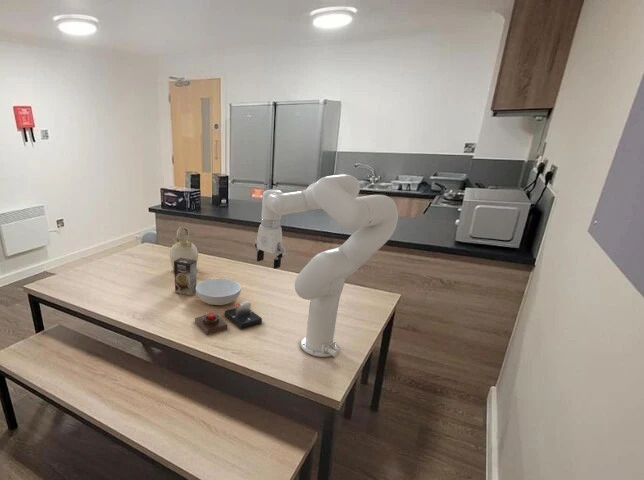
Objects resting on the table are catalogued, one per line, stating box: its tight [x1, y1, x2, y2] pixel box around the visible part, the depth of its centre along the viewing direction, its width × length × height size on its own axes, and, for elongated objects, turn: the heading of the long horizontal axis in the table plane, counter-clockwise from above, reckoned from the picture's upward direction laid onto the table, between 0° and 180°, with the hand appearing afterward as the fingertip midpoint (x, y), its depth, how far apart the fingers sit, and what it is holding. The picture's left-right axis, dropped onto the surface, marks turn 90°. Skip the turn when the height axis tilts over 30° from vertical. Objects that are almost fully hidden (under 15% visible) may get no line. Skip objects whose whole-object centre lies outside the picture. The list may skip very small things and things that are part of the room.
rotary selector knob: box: [235, 300, 251, 317], centre depth 155 cm, size 6×2×5 cm, turn 118°
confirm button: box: [205, 311, 216, 320], centre depth 151 cm, size 4×4×2 cm
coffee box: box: [173, 258, 198, 296], centre depth 180 cm, size 9×6×16 cm
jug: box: [169, 226, 199, 271], centre depth 204 cm, size 15×16×25 cm
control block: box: [194, 313, 228, 335], centre depth 152 cm, size 11×9×4 cm
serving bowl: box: [195, 278, 242, 306], centre depth 173 cm, size 21×21×7 cm
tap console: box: [224, 307, 263, 330], centre depth 157 cm, size 13×10×3 cm
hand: (268, 264), depth 152 cm, fingers open, 9 cm apart
